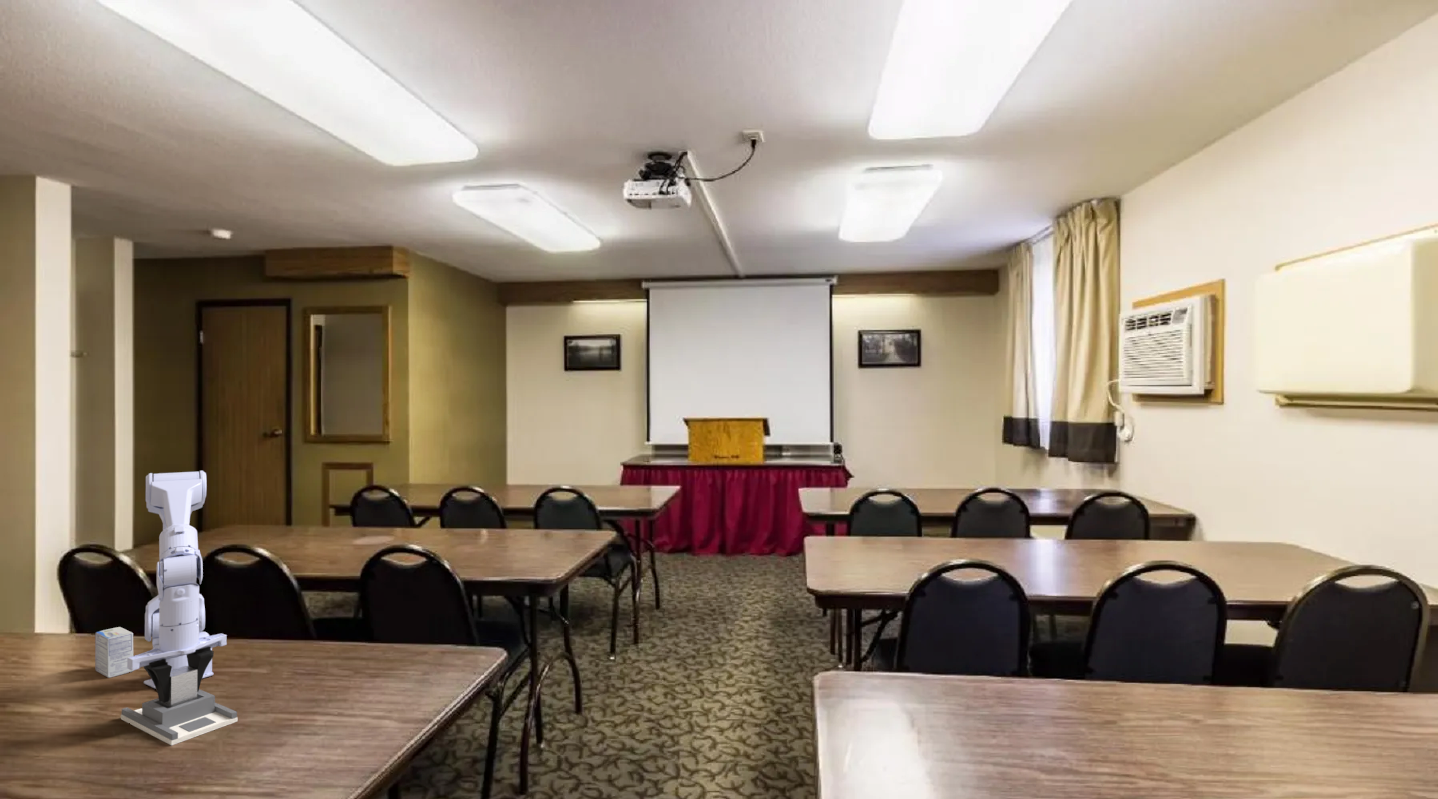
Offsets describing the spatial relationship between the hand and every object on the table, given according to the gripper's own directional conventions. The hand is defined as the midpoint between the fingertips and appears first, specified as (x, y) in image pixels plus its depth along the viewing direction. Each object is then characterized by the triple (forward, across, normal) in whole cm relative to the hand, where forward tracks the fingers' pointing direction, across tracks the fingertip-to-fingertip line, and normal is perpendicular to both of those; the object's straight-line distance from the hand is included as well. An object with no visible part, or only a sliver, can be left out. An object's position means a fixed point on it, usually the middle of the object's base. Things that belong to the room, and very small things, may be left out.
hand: (179, 696), depth 123 cm
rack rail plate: (+4, 0, 0) cm, 4 cm away
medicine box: (+5, +4, +40) cm, 40 cm away
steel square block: (+2, 0, 0) cm, 2 cm away
